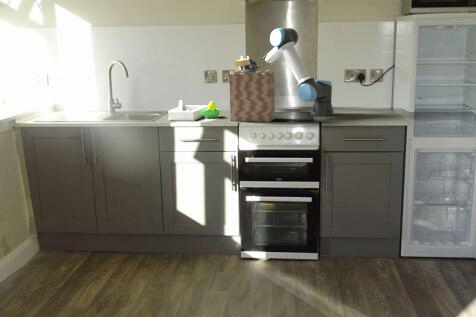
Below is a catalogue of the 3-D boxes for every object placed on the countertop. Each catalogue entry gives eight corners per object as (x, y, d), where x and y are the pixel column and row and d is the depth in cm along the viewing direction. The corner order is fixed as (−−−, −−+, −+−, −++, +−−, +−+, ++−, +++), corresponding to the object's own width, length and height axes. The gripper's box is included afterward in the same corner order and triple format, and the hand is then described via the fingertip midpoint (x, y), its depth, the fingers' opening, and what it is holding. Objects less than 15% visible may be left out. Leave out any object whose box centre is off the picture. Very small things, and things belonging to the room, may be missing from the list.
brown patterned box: (274, 118, 334) (274, 69, 327) (270, 121, 321) (269, 71, 313) (236, 117, 341) (235, 69, 334) (230, 120, 328) (229, 71, 320)
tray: (207, 114, 358) (207, 105, 357) (193, 120, 331) (193, 111, 330) (184, 113, 363) (184, 105, 361) (168, 120, 336) (168, 111, 335)
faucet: (188, 114, 336) (186, 93, 348) (173, 119, 337) (171, 98, 350) (196, 127, 347) (193, 107, 359) (181, 132, 348) (179, 111, 361)
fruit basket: (218, 116, 349) (217, 99, 347) (221, 118, 341) (220, 101, 338) (201, 117, 346) (201, 100, 344) (204, 119, 338) (204, 102, 335)
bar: (250, 64, 339) (250, 58, 338) (240, 66, 317) (240, 60, 316) (245, 64, 340) (245, 58, 339) (235, 66, 318) (235, 60, 317)
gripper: (263, 78, 349) (256, 63, 328) (240, 78, 354) (231, 63, 332) (264, 68, 351) (257, 52, 330) (241, 68, 356) (232, 52, 334)
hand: (244, 57), depth 331 cm, fingers closed on bar, 3 cm apart
